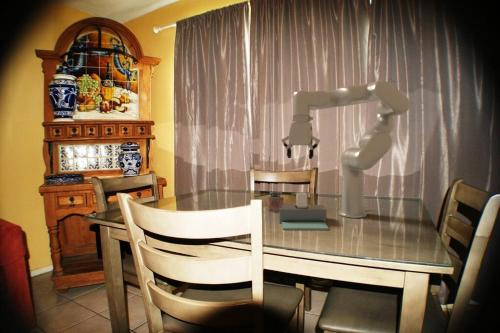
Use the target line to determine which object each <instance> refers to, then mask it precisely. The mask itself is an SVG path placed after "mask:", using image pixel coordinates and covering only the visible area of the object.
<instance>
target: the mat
mask: <svg viewBox="0 0 500 333" xmlns="http://www.w3.org/2000/svg"><path fill="white" fill-rule="evenodd" d="M281 227H282V230H284V231H286V230H287V231H329V227H328V225H327V223H325V222H282V223H281Z"/></svg>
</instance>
